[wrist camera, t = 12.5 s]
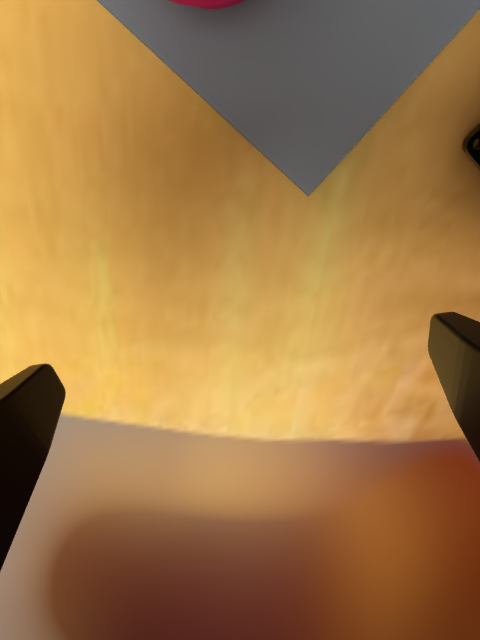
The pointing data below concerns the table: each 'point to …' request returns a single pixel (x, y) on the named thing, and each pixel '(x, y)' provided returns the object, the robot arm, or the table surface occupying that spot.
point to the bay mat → (298, 66)
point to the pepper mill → (208, 3)
